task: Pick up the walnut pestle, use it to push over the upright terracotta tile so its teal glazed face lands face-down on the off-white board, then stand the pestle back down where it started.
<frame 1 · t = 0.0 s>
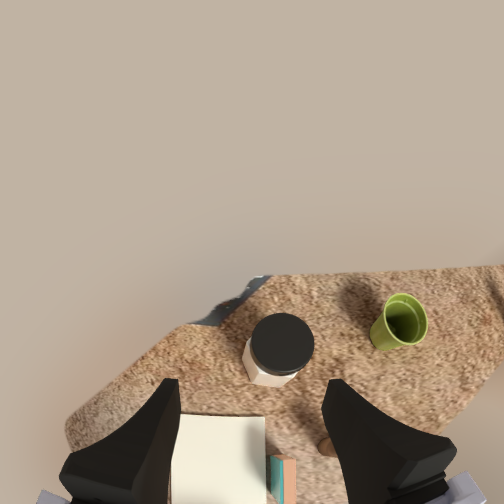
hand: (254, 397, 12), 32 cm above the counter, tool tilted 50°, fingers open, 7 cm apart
jar: (268, 363, 45), on the counter
tile: (278, 474, 34), on the counter
board: (218, 475, 33), on the counter
plant pot: (382, 336, 49), on the counter
pestle: (327, 446, 37), on the counter
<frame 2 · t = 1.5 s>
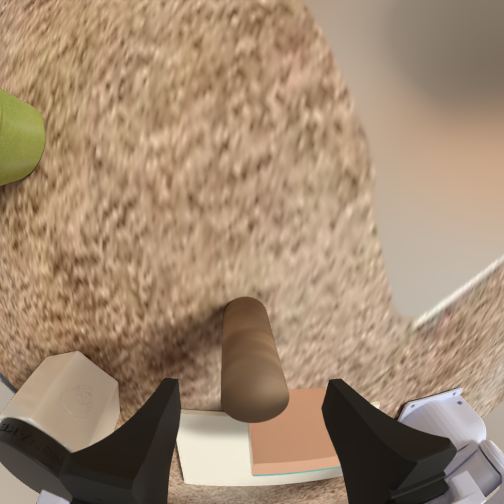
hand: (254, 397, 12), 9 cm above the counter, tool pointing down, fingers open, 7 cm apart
jar: (83, 384, 22), on the counter
tile: (285, 396, 23), on the counter
board: (273, 452, 25), on the counter
plant pot: (23, 142, 16), on the counter
pestle: (245, 316, 21), on the counter
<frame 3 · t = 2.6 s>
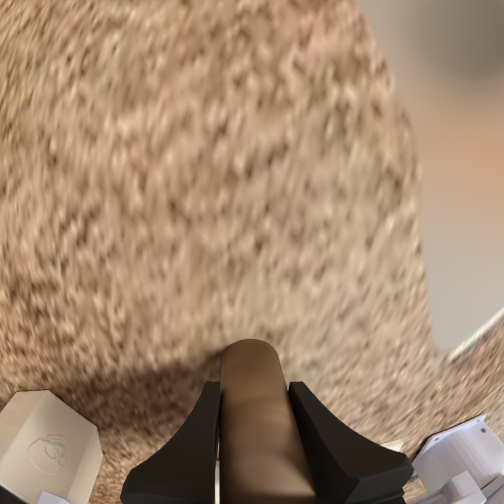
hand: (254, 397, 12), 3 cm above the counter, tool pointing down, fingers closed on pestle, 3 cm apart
jar: (60, 424, 16), on the counter
board: (280, 494, 20), on the counter
pestle: (250, 363, 15), on the counter, touching gripper
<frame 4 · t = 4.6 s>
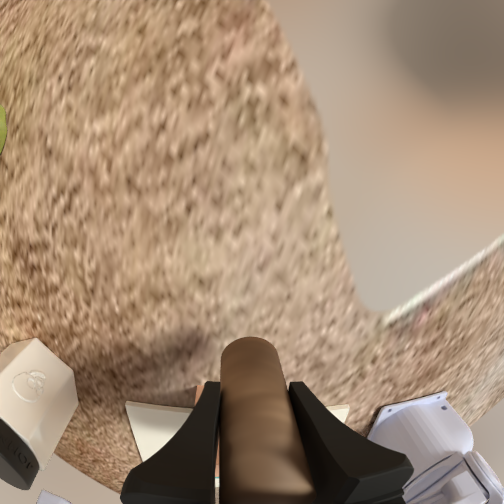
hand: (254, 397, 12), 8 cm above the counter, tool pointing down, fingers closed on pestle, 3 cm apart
jar: (44, 372, 20), on the counter
board: (236, 454, 24), on the counter
pestle: (249, 360, 15), point 5 cm above the counter, touching gripper
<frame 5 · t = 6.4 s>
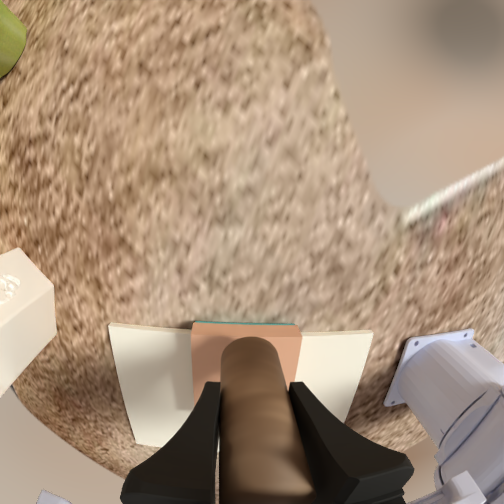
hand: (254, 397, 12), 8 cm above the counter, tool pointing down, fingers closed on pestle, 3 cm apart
jar: (23, 296, 18), on the counter
tile: (246, 330, 18), point 2 cm above the counter, tilted 90°, touching board
board: (239, 401, 22), on the counter
plant pot: (6, 53, 13), on the counter
pestle: (249, 360, 15), point 5 cm above the counter, touching gripper
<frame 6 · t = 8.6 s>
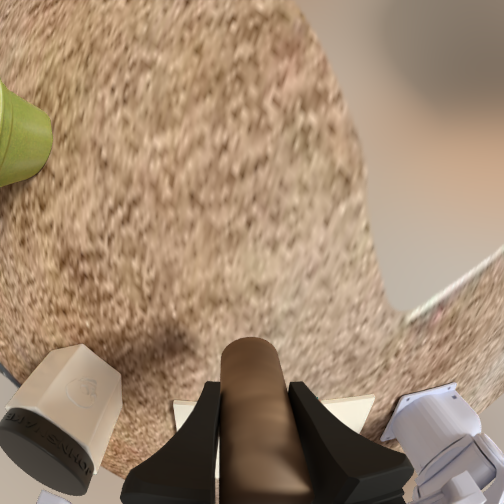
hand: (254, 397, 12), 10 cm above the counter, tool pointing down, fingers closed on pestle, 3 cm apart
jar: (87, 377, 23), on the counter
board: (272, 444, 26), on the counter
plant pot: (30, 143, 17), on the counter
pestle: (249, 360, 15), point 7 cm above the counter, touching gripper
when the fingers open (4 cm above the counter, at t = 10.3 s): pestle stays where it is, on the counter.
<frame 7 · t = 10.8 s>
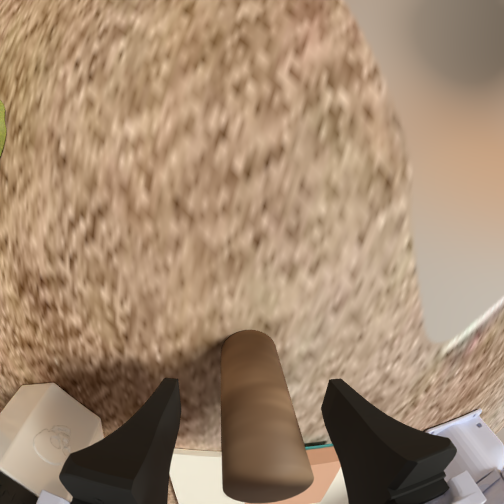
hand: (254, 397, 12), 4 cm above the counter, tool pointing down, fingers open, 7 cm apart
jar: (64, 416, 17), on the counter
tile: (297, 458, 17), point 2 cm above the counter, tilted 90°, touching board
board: (279, 487, 21), on the counter
pestle: (248, 353, 16), on the counter
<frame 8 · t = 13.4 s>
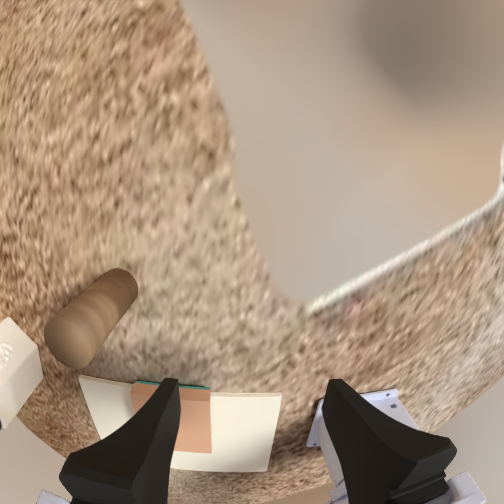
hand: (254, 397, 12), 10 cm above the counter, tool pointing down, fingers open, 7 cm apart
jar: (16, 349, 22), on the counter
tile: (170, 392, 22), point 2 cm above the counter, tilted 90°, touching board
board: (179, 434, 26), on the counter
pestle: (119, 287, 21), on the counter
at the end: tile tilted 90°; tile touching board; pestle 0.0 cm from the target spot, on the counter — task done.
